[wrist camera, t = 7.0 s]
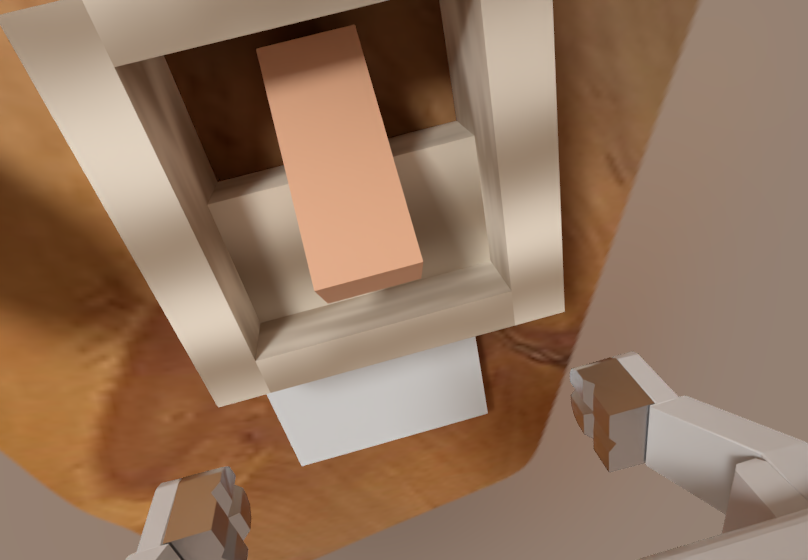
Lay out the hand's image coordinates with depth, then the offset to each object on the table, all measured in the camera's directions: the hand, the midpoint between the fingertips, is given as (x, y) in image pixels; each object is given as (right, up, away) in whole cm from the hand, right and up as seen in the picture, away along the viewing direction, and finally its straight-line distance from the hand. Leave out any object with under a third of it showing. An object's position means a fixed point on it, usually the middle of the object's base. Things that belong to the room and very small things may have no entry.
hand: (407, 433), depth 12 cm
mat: (-2, -3, +20) cm, 21 cm away
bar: (-3, +8, +10) cm, 13 cm away
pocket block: (-3, +9, +13) cm, 16 cm away
